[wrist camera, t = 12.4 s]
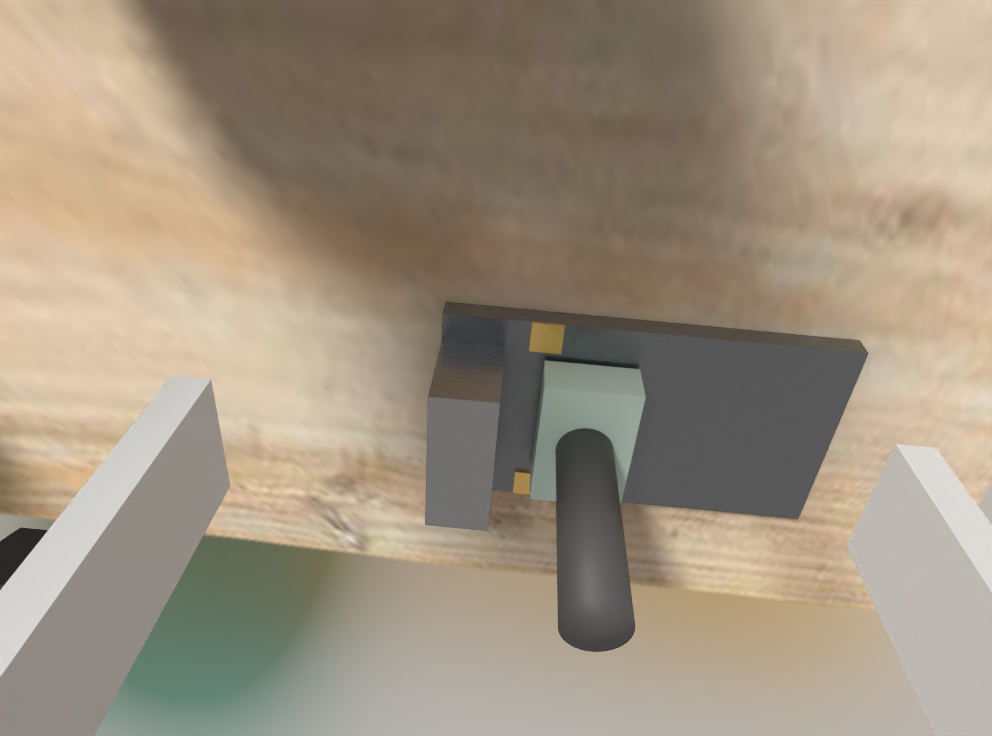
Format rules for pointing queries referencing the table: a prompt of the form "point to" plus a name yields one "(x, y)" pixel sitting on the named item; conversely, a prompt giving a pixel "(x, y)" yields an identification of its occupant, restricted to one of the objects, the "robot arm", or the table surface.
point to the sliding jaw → (588, 494)
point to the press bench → (665, 417)
